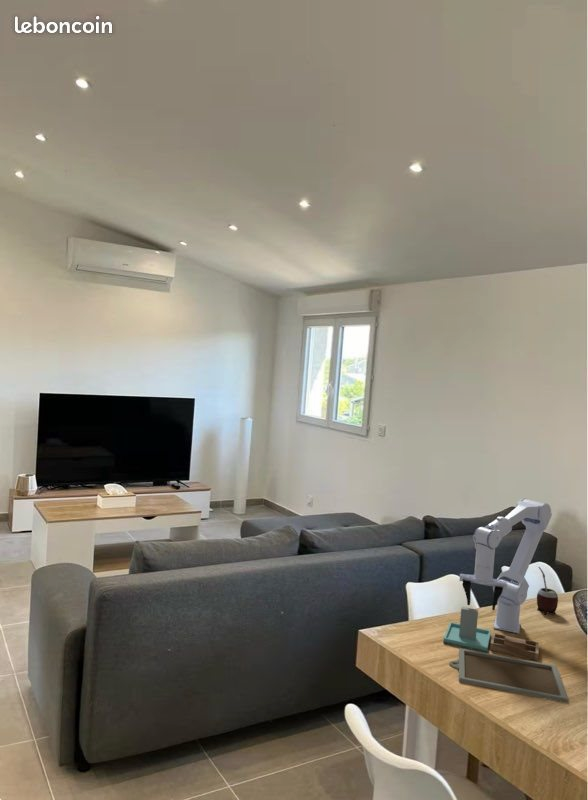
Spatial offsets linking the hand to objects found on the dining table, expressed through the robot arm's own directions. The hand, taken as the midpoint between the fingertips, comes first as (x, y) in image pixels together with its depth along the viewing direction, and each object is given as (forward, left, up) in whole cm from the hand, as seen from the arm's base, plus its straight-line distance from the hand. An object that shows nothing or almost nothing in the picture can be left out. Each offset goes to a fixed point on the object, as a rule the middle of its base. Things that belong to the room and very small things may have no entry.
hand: (481, 606), depth 192 cm
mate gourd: (-35, +20, -10) cm, 41 cm away
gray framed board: (+24, +9, -10) cm, 27 cm away
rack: (+6, +11, -9) cm, 16 cm away
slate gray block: (+5, -3, -9) cm, 11 cm away
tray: (+5, -3, -9) cm, 11 cm away
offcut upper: (+7, +11, -8) cm, 15 cm away
